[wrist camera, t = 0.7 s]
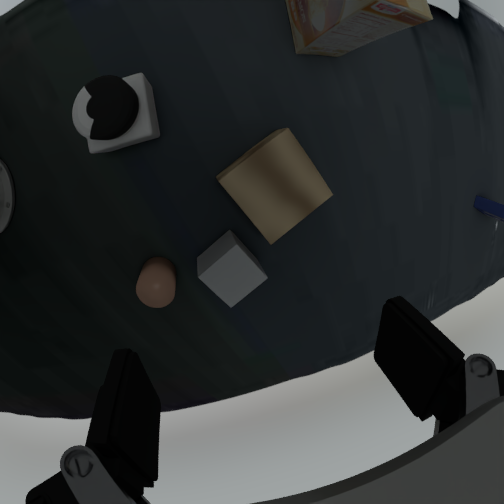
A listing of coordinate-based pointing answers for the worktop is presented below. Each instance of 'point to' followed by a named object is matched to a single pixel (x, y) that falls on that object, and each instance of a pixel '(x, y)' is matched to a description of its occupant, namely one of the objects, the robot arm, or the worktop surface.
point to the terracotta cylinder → (157, 282)
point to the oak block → (275, 184)
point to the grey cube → (230, 269)
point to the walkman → (490, 208)
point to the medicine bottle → (116, 112)
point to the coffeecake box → (349, 22)
